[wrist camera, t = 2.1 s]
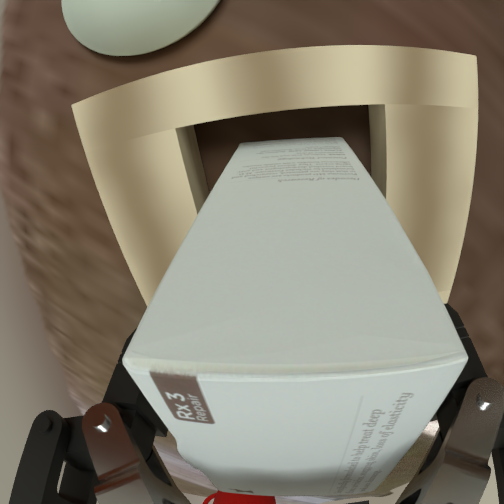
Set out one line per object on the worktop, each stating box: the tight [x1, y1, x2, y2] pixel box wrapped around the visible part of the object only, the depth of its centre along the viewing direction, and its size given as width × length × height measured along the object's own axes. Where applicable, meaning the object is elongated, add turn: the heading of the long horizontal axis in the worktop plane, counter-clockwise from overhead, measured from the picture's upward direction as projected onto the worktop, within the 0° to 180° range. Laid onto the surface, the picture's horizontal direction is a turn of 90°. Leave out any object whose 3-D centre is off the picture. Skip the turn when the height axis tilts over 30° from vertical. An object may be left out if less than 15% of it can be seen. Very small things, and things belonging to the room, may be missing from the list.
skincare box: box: [122, 137, 468, 496], centre depth 12 cm, size 8×6×15 cm
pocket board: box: [71, 45, 478, 307], centre depth 17 cm, size 20×17×3 cm
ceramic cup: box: [203, 490, 276, 504], centre depth 49 cm, size 13×17×10 cm
